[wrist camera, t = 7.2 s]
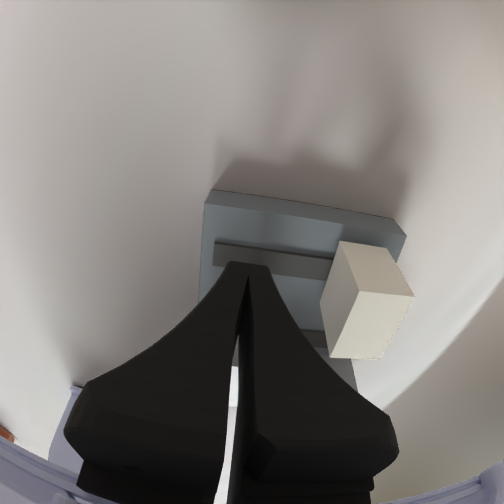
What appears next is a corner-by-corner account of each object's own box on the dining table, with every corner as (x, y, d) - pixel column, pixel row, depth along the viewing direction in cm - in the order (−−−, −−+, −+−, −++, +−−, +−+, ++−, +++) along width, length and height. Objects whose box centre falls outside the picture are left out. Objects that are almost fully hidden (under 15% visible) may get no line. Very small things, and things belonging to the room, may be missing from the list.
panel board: (200, 372, 19) (189, 432, 15) (211, 189, 12) (185, 244, 8) (322, 384, 19) (328, 443, 15) (394, 219, 13) (438, 279, 9)
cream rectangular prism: (319, 302, 13) (329, 357, 10) (339, 240, 11) (359, 291, 9) (362, 306, 13) (379, 359, 10) (386, 248, 11) (414, 296, 9)
